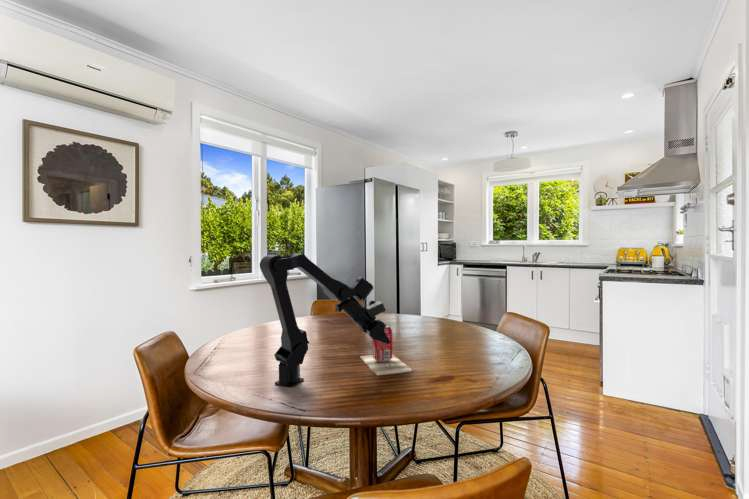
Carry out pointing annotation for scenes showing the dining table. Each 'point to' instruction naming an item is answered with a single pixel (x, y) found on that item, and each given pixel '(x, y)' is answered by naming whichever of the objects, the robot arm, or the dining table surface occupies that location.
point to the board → (385, 365)
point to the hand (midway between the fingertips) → (386, 340)
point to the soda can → (383, 347)
